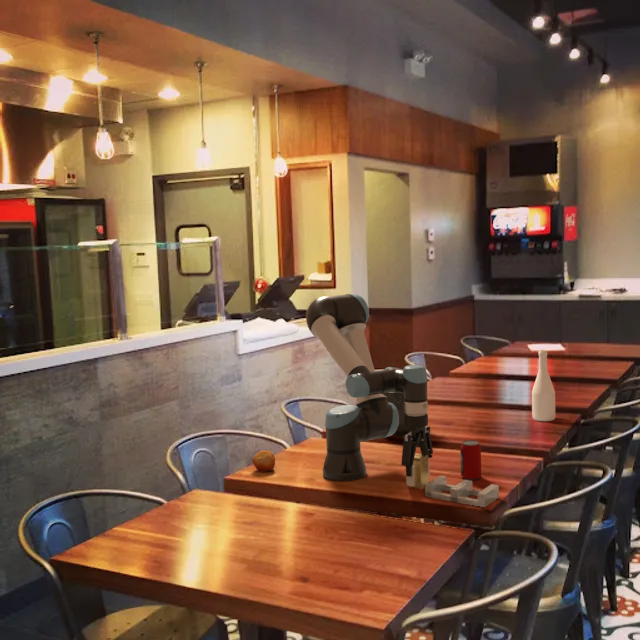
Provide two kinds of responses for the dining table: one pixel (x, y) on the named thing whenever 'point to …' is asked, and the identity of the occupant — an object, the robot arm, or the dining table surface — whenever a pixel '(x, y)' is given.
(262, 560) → the dining table surface
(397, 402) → the planter
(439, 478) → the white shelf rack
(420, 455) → the brass block
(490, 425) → the dining table surface
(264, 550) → the dining table surface
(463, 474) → the beverage can
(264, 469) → the fruit
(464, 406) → the dining table surface
